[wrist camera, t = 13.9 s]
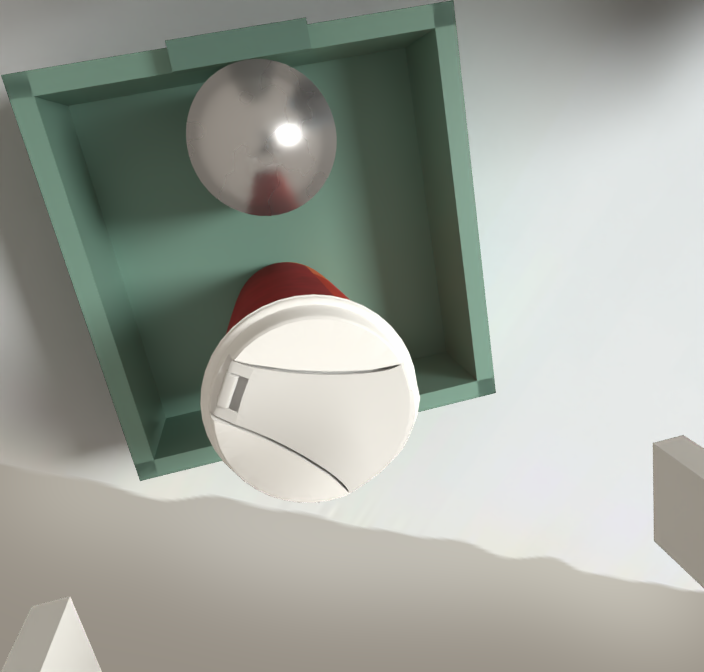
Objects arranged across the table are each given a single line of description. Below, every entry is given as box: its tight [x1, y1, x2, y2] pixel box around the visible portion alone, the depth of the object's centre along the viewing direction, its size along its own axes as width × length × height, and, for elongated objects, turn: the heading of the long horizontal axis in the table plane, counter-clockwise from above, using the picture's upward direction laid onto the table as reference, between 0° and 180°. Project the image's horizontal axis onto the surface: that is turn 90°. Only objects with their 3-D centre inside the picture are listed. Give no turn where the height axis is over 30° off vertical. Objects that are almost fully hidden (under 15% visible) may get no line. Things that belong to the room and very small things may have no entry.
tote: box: [1, 0, 496, 481], centre depth 31 cm, size 20×20×7 cm
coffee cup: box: [200, 262, 420, 502], centre depth 28 cm, size 8×8×15 cm
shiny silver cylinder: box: [186, 59, 337, 216], centre depth 28 cm, size 6×6×9 cm
